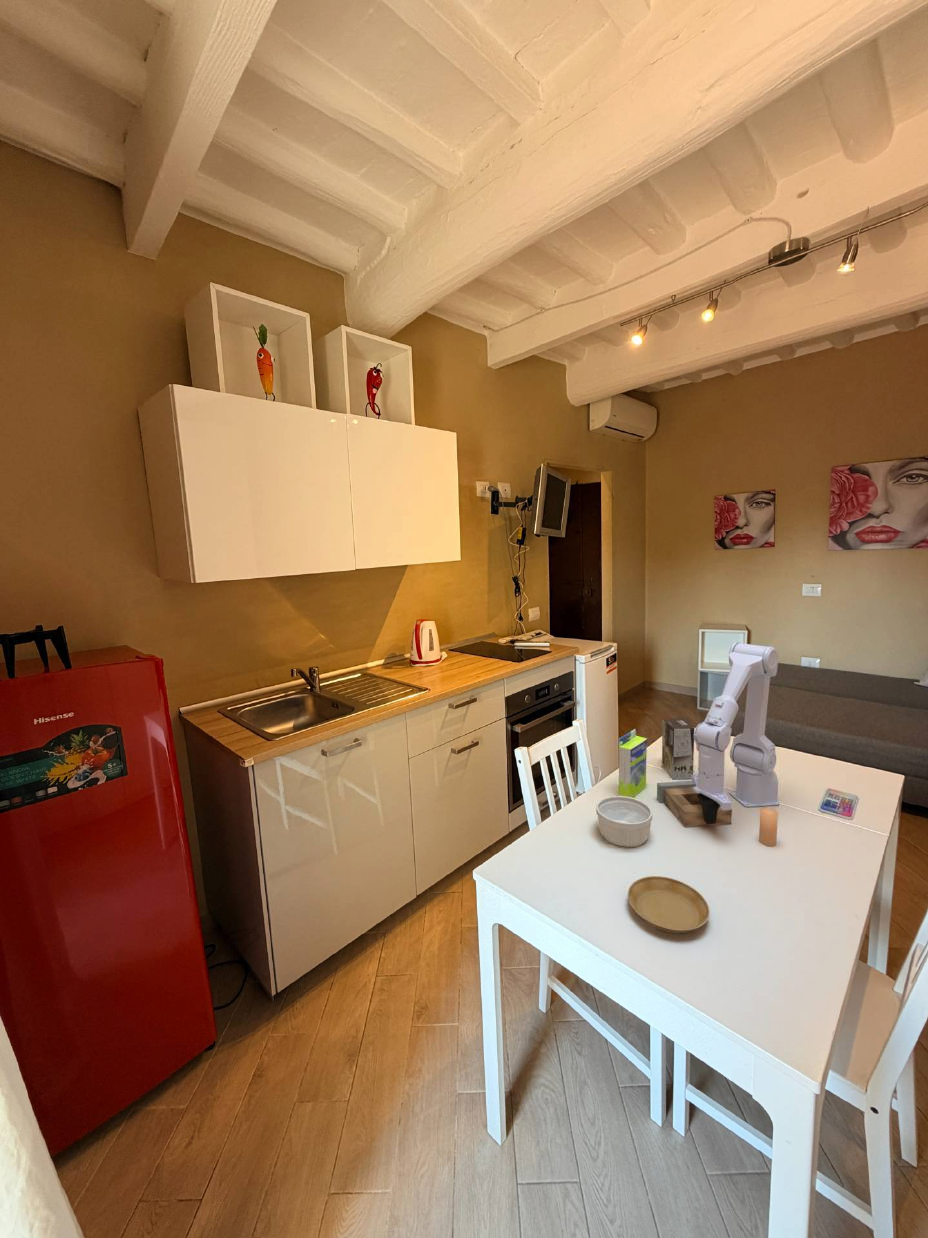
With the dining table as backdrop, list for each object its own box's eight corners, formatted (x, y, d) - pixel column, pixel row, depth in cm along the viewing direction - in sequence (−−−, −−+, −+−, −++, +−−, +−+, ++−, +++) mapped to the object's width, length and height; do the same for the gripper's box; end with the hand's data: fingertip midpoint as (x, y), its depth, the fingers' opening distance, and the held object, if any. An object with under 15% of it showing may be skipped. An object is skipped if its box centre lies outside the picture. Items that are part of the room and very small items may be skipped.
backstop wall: (712, 796, 138) (713, 779, 137) (716, 799, 136) (717, 782, 135) (656, 799, 138) (657, 782, 137) (660, 803, 136) (660, 786, 135)
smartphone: (859, 795, 134) (853, 819, 123) (859, 799, 134) (852, 823, 124) (826, 787, 139) (817, 808, 128) (826, 790, 139) (817, 812, 129)
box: (630, 801, 137) (631, 742, 135) (616, 796, 140) (617, 739, 138) (647, 787, 144) (648, 731, 142) (634, 783, 147) (634, 728, 145)
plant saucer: (612, 910, 98) (612, 898, 97) (653, 877, 107) (653, 866, 106) (683, 956, 86) (684, 943, 86) (723, 915, 95) (723, 903, 95)
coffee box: (694, 779, 148) (695, 728, 146) (672, 779, 148) (673, 728, 146) (681, 765, 157) (682, 717, 155) (661, 766, 157) (661, 718, 155)
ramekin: (586, 837, 122) (586, 811, 121) (611, 814, 131) (611, 790, 130) (638, 858, 113) (638, 830, 112) (660, 832, 122) (661, 806, 121)
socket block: (706, 800, 136) (706, 786, 135) (731, 824, 124) (731, 809, 124) (663, 802, 136) (663, 789, 135) (684, 827, 124) (685, 812, 123)
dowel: (769, 837, 118) (771, 806, 117) (779, 846, 115) (781, 814, 114) (755, 838, 118) (757, 807, 117) (765, 847, 115) (766, 815, 113)
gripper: (680, 759, 128) (679, 808, 130) (711, 786, 114) (709, 840, 116) (707, 758, 129) (705, 806, 131) (740, 784, 114) (738, 838, 116)
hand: (709, 822), depth 123 cm, fingers closed, pressing on socket block
